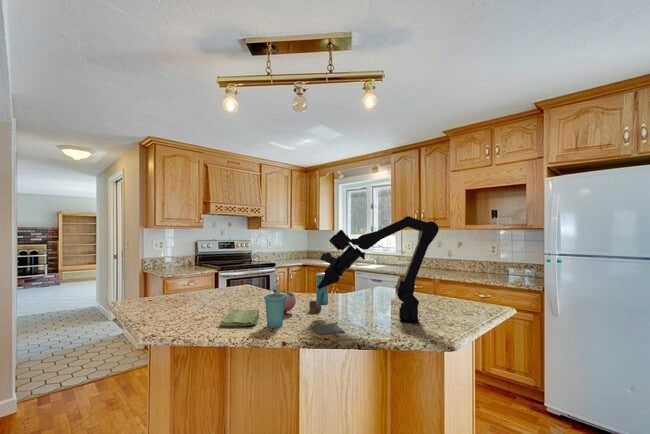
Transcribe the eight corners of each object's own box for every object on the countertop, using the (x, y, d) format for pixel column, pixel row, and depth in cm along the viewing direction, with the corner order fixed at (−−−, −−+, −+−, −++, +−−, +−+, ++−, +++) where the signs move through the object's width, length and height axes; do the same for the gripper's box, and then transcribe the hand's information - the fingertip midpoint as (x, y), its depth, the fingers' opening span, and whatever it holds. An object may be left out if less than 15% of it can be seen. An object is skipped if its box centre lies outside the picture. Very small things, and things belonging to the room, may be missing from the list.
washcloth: (218, 329, 113) (218, 320, 113) (228, 316, 131) (228, 307, 131) (256, 328, 114) (256, 319, 115) (261, 315, 132) (261, 307, 132)
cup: (285, 332, 109) (286, 287, 110) (262, 333, 108) (262, 287, 109) (285, 320, 123) (286, 280, 124) (264, 321, 122) (265, 281, 123)
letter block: (321, 309, 141) (321, 298, 141) (320, 312, 136) (320, 301, 136) (311, 309, 141) (311, 298, 141) (309, 312, 137) (309, 300, 137)
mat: (334, 324, 118) (334, 323, 118) (344, 332, 110) (344, 331, 110) (311, 327, 115) (311, 326, 115) (319, 335, 106) (319, 333, 107)
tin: (329, 303, 129) (329, 272, 130) (326, 305, 125) (326, 274, 125) (318, 302, 131) (318, 272, 131) (314, 305, 126) (314, 273, 126)
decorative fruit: (269, 314, 132) (269, 289, 132) (278, 310, 139) (278, 286, 140) (290, 316, 129) (290, 291, 129) (298, 311, 136) (298, 287, 137)
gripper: (334, 243, 137) (308, 269, 138) (330, 245, 119) (300, 275, 120) (352, 262, 136) (326, 288, 137) (351, 267, 118) (321, 297, 118)
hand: (318, 287), depth 128 cm, fingers closed on tin, 5 cm apart
